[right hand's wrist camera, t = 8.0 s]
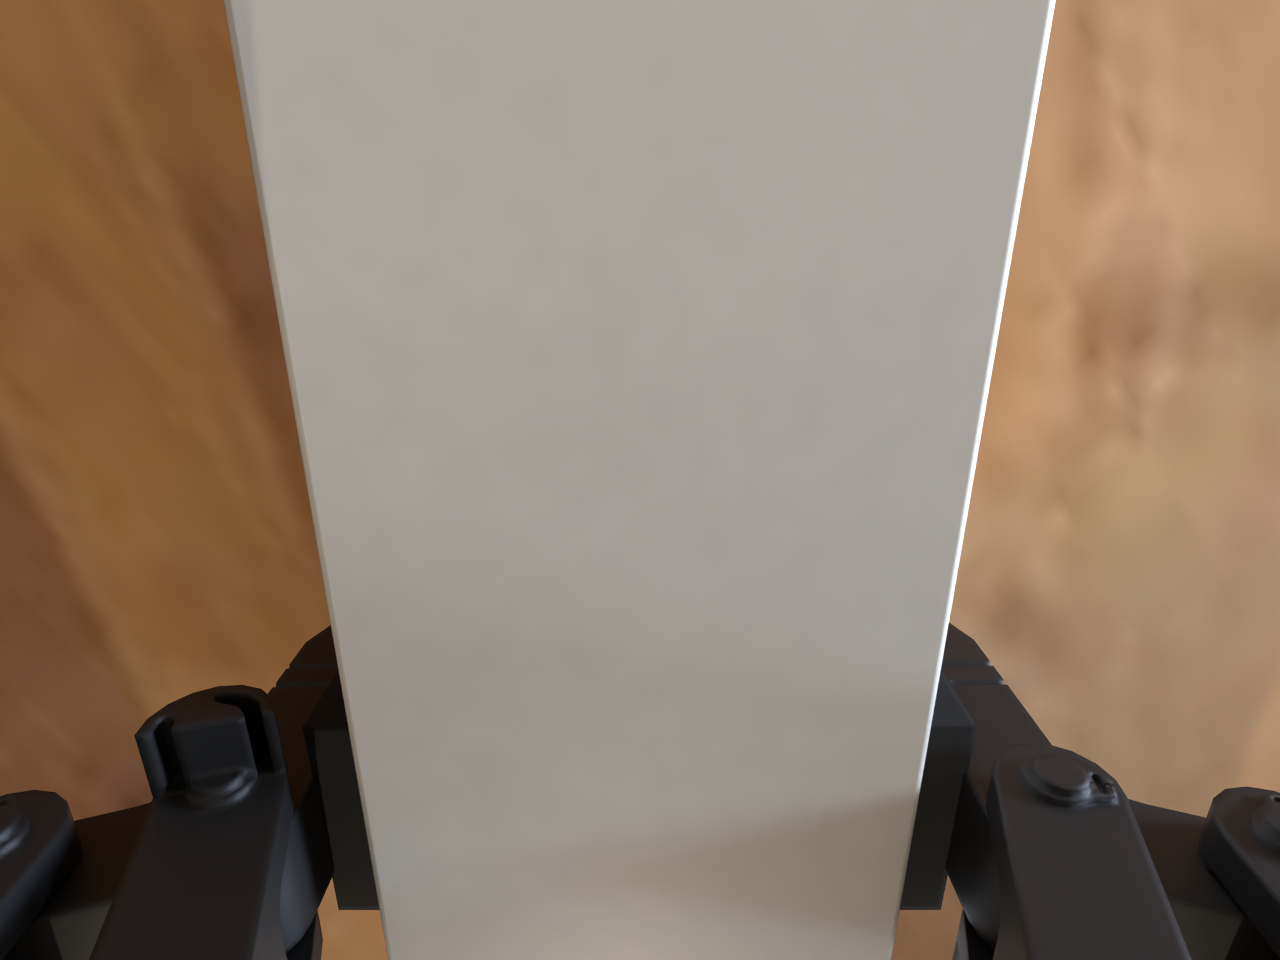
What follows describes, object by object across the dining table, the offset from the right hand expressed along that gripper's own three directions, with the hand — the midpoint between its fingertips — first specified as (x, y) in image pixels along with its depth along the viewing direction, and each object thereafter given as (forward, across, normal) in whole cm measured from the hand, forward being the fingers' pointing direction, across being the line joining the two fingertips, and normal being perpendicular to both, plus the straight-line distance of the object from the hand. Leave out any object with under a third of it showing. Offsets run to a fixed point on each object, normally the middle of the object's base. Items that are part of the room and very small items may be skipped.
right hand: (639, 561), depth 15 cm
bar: (+1, 0, -36) cm, 36 cm away
